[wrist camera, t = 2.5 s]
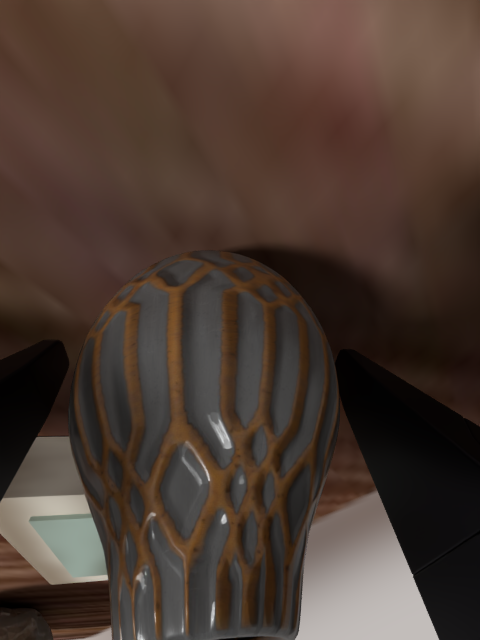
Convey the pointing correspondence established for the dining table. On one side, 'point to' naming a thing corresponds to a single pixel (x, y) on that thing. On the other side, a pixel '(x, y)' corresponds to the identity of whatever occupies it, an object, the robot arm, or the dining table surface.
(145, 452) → the vase
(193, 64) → the dining table surface
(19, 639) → the ceramic bowl
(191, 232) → the dining table surface
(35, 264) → the dining table surface
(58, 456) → the plinth
